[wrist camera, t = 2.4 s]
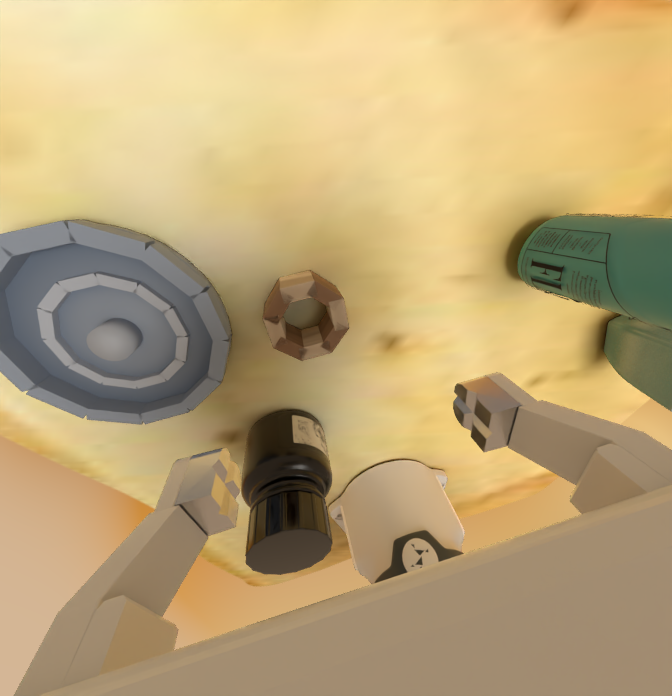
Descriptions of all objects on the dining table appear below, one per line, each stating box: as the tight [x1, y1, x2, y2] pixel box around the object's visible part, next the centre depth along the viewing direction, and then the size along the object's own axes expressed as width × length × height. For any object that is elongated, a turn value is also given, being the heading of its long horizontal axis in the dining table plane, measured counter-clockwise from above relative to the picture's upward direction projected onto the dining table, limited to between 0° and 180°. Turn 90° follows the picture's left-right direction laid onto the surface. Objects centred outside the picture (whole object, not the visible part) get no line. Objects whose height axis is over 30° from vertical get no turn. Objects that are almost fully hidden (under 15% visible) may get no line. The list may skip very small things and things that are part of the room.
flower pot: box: [604, 315, 672, 412], centre depth 29 cm, size 9×9×9 cm
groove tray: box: [0, 220, 232, 424], centre depth 20 cm, size 16×16×3 cm
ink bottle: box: [241, 411, 332, 575], centre depth 26 cm, size 10×9×12 cm
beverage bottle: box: [517, 213, 672, 331], centre depth 17 cm, size 6×7×20 cm
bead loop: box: [263, 270, 349, 361], centre depth 22 cm, size 6×6×4 cm
